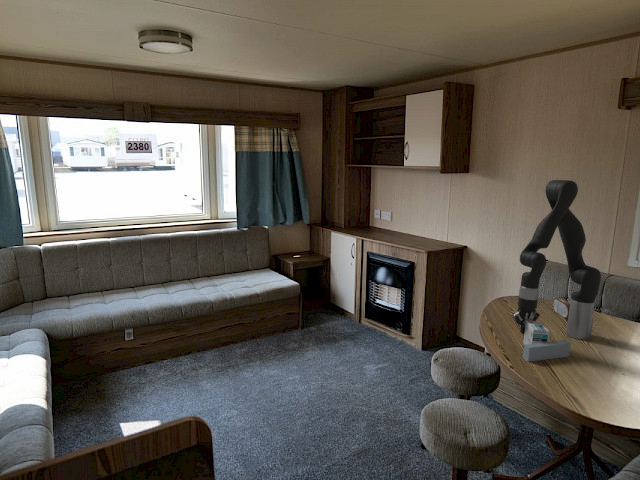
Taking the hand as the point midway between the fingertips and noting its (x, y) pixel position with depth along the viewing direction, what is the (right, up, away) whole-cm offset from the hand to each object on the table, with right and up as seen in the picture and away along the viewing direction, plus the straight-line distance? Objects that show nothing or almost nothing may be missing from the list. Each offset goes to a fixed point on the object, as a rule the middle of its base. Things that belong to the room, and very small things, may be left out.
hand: (523, 333), depth 190 cm
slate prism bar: (+3, -7, -13) cm, 15 cm away
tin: (+36, +2, +34) cm, 49 cm away
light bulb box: (+2, -6, -6) cm, 8 cm away
